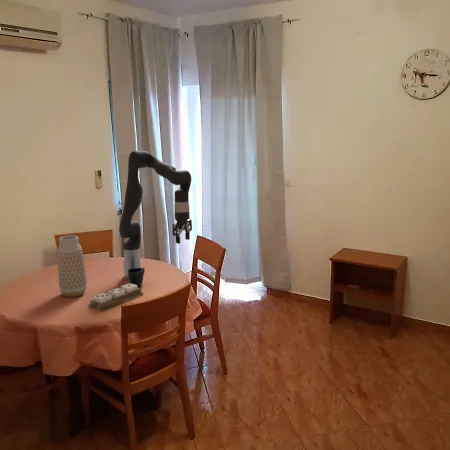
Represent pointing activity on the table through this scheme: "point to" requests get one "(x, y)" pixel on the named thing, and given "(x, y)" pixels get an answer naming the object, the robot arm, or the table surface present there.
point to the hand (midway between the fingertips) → (182, 241)
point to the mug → (136, 276)
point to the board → (116, 300)
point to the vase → (71, 267)
